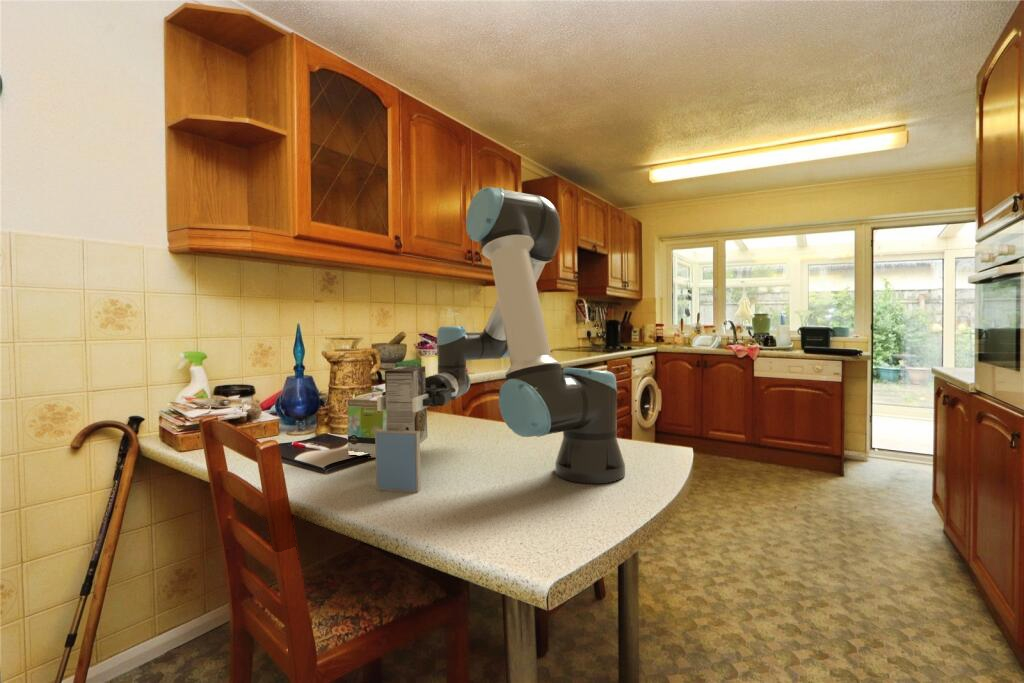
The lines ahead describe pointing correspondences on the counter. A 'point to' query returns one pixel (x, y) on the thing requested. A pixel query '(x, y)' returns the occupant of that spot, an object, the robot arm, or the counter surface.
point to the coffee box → (405, 399)
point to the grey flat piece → (398, 460)
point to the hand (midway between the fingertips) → (396, 404)
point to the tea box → (364, 422)
